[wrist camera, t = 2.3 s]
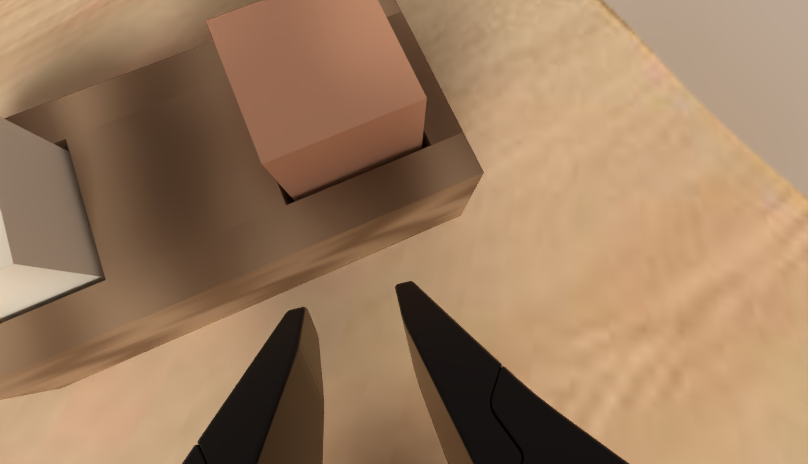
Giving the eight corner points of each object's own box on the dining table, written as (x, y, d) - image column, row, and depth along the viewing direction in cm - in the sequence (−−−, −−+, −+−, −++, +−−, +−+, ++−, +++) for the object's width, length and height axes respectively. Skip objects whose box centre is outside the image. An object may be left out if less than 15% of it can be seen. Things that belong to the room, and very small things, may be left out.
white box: (117, 176, 21) (-25, 104, 14) (150, 284, 20) (13, 263, 13) (-1, 222, 20) (-208, 171, 13) (25, 335, 19) (-187, 343, 12)
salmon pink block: (373, 75, 22) (359, -36, 15) (419, 171, 21) (426, 98, 14) (268, 116, 21) (205, 20, 15) (309, 217, 20) (261, 164, 13)
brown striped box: (389, 68, 26) (384, -22, 19) (460, 215, 24) (483, 172, 17) (18, 213, 24) (-136, 170, 17) (61, 388, 22) (-95, 418, 15)
